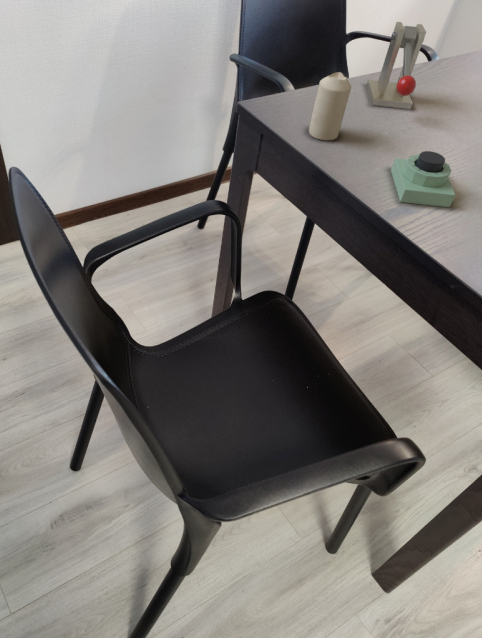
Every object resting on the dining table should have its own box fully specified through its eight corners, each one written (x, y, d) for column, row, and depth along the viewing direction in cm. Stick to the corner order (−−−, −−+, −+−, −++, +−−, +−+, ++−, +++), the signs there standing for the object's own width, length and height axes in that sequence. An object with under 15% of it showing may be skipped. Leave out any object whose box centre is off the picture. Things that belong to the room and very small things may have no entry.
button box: (436, 175, 86) (447, 152, 83) (449, 207, 80) (461, 184, 77) (390, 170, 87) (399, 147, 83) (399, 202, 80) (409, 178, 77)
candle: (313, 124, 96) (327, 66, 88) (341, 131, 95) (357, 73, 87) (304, 135, 93) (317, 76, 85) (333, 143, 91) (349, 84, 84)
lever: (411, 101, 97) (418, 87, 93) (393, 99, 97) (400, 85, 93) (412, 39, 100) (420, 24, 96) (395, 38, 100) (402, 22, 96)
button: (437, 162, 82) (442, 152, 80) (442, 175, 79) (447, 164, 78) (413, 160, 82) (417, 149, 81) (417, 172, 79) (422, 162, 78)
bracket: (410, 109, 103) (437, 37, 93) (371, 105, 103) (394, 33, 93) (402, 89, 109) (427, 20, 99) (366, 85, 109) (386, 16, 99)
